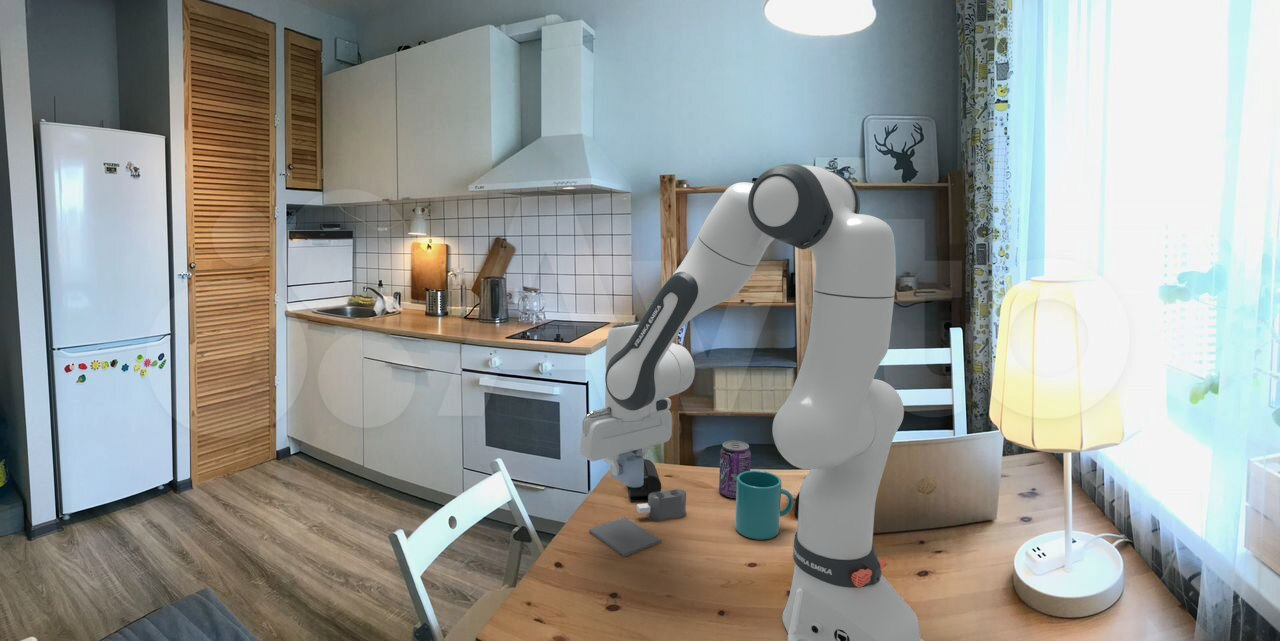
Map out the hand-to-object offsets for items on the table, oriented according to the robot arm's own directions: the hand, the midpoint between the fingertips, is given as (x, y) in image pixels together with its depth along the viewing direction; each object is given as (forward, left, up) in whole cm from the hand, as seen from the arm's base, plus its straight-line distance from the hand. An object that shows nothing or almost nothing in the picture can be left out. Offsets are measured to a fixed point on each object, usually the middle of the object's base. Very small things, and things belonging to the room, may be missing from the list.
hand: (627, 471), depth 121 cm
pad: (+1, 0, -14) cm, 14 cm away
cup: (-14, -25, -15) cm, 32 cm away
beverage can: (+2, -33, -15) cm, 36 cm away
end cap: (+15, -16, -15) cm, 26 cm away
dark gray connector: (+3, -12, -14) cm, 19 cm away
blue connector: (+1, 0, -2) cm, 2 cm away
